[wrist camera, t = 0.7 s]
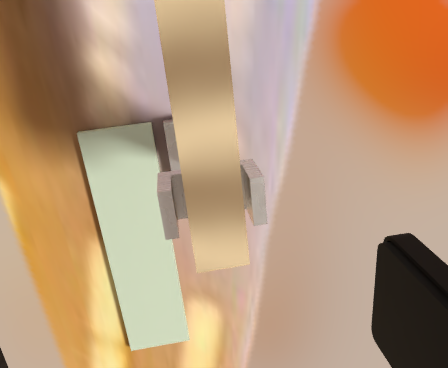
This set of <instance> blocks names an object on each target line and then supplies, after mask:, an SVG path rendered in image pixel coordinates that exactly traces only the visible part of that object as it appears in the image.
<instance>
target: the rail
mask: <svg viewBox="0 0 448 368" xmlns="http://www.w3.org/2000/svg"><path fill="white" fill-rule="evenodd" d="M154 2H155V8H156V15H157V21H158V27H159V34H160V40H161V47H162V53H163V59H164V66H165V72H166V79H167V85H168V92H169V98H170V104H171V111H172V117H173V124H174V130H175V136H176V143H177V149H178V156H179V162H180V168H181V175H182V181H183V188H184V194H185V200H186V207H187V213H188V220H189V226H190V232H191V239H192V245H193V252H194V258H195V265H196V271H197V273H202V272H208V271H214V270H220V269H226V268H231V267H237V266H243V265H249V264H250V263H249V252H248V242H247V231H246V221H245V211H244V200H243V190H242V180H241V169H240V159H239V148H238V138H237V128H236V117H235V107H234V97H233V86H232V76H231V65H230V55H229V45H228V34H227V24H226V14H225V3H224V0H154Z"/></svg>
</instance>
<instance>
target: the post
mask: <svg viewBox="0 0 448 368" xmlns="http://www.w3.org/2000/svg"><path fill="white" fill-rule="evenodd" d="M163 125H164V131H165V137H166V143H167V149H168V155H169V161H170V167H171V171H167V172H160V173H158V176H157V196H158V202H159V207H160V213H161V218H162V224H163V229H164V234H165V240H170V239H176V238H179V226H178V219H184V218H188V213H187V207H186V200H185V194H184V188H183V181H182V175H181V168H180V162H179V156H178V149H177V143H176V136H175V130H174V124H173V119H168V120H163ZM240 169H241V180H242V190H243V200H244V209H247V211H248V214H249V216H250V218H251V220H252V223H253V225H254V226H257V225H263V224H267V213H266V199H265V186H264V176H263V175H262V173H261V171H260V170H259V168H258V167H257V165H256V164H255V162H254V161H253V159H249V160H242V161H240Z"/></svg>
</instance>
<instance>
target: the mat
mask: <svg viewBox="0 0 448 368" xmlns="http://www.w3.org/2000/svg"><path fill="white" fill-rule="evenodd" d="M77 137H78V141H79V145H80V149H81V153H82V157H83V161H84V164H85V168H86V172H87V176H88V180H89V184H90V188H91V192H92V196H93V200H94V204H95V208H96V212H97V216H98V220H99V224H100V228H101V232H102V236H103V240H104V244H105V248H106V252H107V256H108V260H109V264H110V268H111V272H112V276H113V280H114V284H115V288H116V292H117V296H118V300H119V304H120V308H121V312H122V316H123V320H124V324H125V328H126V332H127V336H128V340H129V344H130V348H131V351H133V350H139V349H144V348H149V347H155V346H160V345H166V344H171V343H177V342H182V341H188V340H189V332H188V327H187V321H186V315H185V310H184V304H183V298H182V293H181V287H180V282H179V276H178V270H177V265H176V259H175V253H174V248H173V242H172V239H170V240H165V234H164V229H163V224H162V218H161V213H160V207H159V202H158V196H157V176H158V173H160V169H159V163H158V157H157V152H156V146H155V140H154V135H153V129H152V123H151V122H146V123H138V124H131V125H123V126H116V127H109V128H101V129H94V130H87V131H79V132H77Z"/></svg>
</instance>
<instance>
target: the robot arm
mask: <svg viewBox="0 0 448 368" xmlns="http://www.w3.org/2000/svg"><path fill="white" fill-rule="evenodd" d="M372 334H373V338H374V340H375V342H376V344H377V345H378V347H379V348H380V350H381V352H382V353H383V355H384V356H385V358H386V359H387V361H388V362H389V364H390V365H391V367H392V368H448V265H447V264H445V263H444V262H443V261H442V260H441V259H440V258H439V257H438V256H436V255H435V254H434V253H433V252H432V251H431V250H429V248H427V247H426V246H425V245H424V244H423V243H422V242H421V241H420V240H418V239H417V238H416V237H415V236H414V235H412V234H411V233H406V234H399V235H393V236H387V237H385V239H384V242H383V243H380V244H379V245H378V250H377V262H376V275H375V288H374V301H373V314H372ZM0 368H8V366H7V363H6V361H5V358H4V356H3V353H2V351H1V348H0Z"/></svg>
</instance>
